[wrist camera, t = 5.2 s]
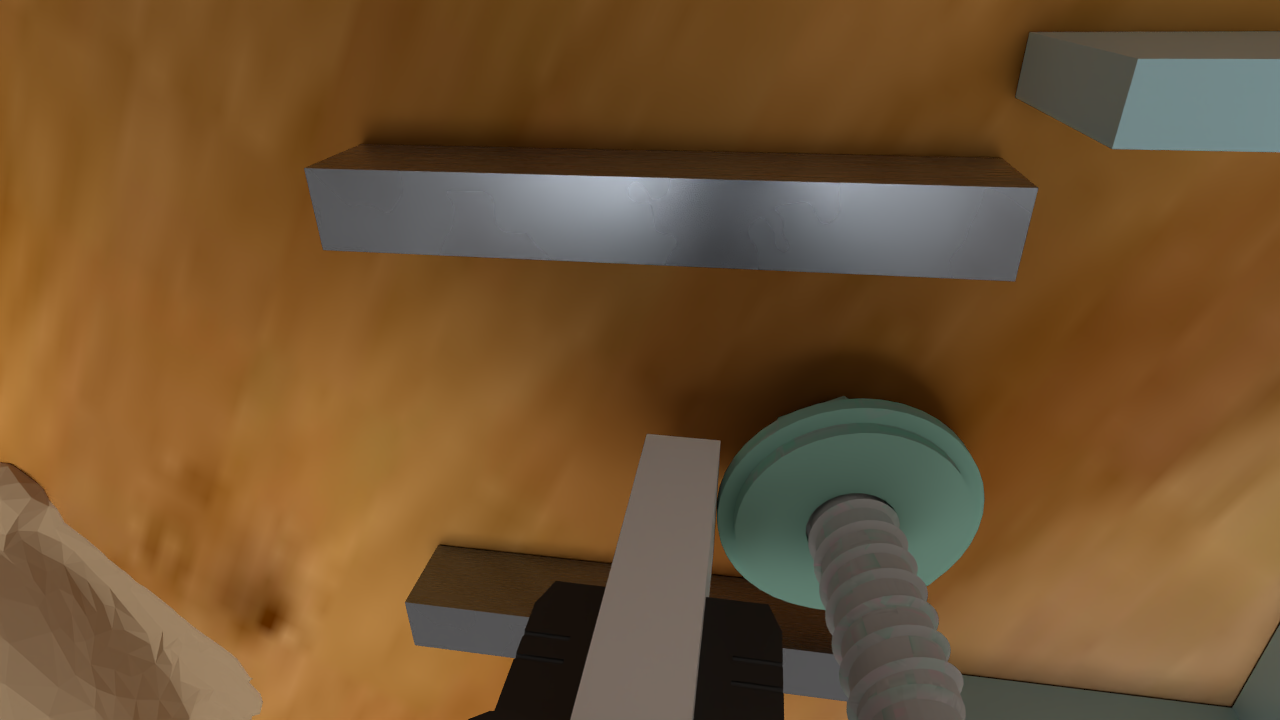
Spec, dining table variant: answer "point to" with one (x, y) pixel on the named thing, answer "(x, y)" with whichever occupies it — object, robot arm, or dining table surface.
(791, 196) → the slot
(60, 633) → the mask
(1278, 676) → the bracket
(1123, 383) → the dining table surface
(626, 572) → the robot arm
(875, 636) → the screw
